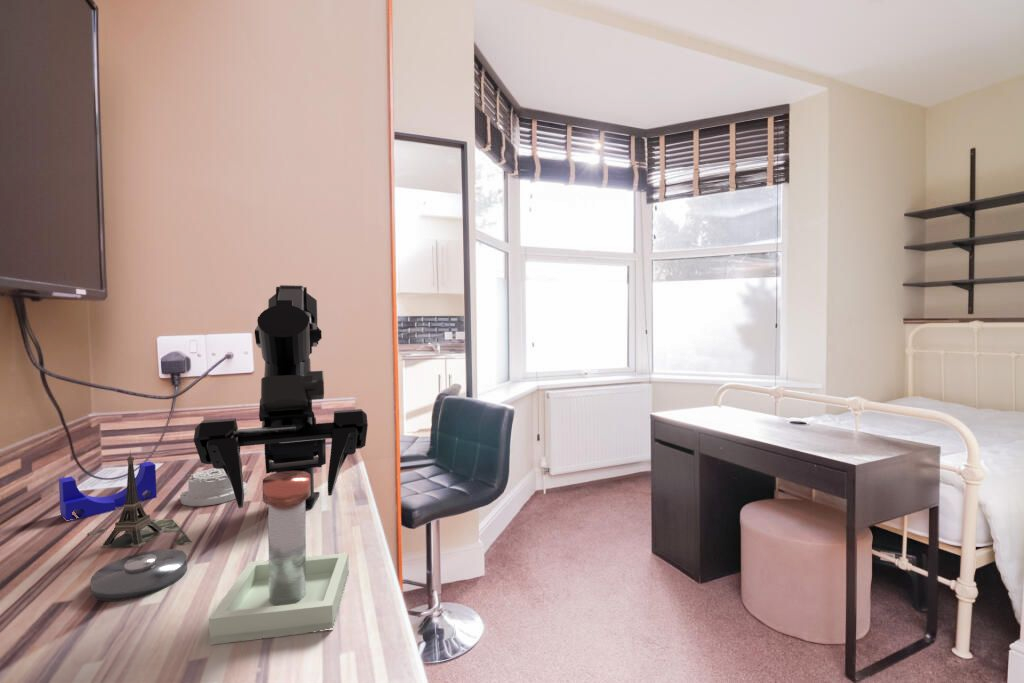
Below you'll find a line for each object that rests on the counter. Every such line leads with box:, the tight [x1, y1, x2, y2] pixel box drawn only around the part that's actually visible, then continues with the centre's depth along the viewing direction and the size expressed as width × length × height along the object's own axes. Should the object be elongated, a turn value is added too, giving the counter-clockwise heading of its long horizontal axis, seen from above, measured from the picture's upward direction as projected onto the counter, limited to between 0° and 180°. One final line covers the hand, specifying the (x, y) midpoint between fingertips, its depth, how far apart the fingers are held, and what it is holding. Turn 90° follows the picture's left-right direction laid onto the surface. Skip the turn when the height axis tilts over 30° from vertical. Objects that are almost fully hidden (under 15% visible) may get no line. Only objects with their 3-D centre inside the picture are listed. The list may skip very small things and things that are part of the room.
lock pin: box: [262, 471, 311, 606], centre depth 51 cm, size 5×5×13 cm
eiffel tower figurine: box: [87, 451, 193, 549], centre depth 68 cm, size 15×10×13 cm
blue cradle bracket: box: [58, 461, 157, 520], centre depth 80 cm, size 12×4×6 cm, turn 142°
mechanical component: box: [179, 468, 248, 507], centre depth 85 cm, size 10×4×10 cm
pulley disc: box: [90, 548, 188, 602], centre depth 57 cm, size 9×9×2 cm
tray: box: [208, 552, 350, 646], centre depth 52 cm, size 11×11×2 cm
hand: (286, 500), depth 54 cm, fingers open, 9 cm apart
